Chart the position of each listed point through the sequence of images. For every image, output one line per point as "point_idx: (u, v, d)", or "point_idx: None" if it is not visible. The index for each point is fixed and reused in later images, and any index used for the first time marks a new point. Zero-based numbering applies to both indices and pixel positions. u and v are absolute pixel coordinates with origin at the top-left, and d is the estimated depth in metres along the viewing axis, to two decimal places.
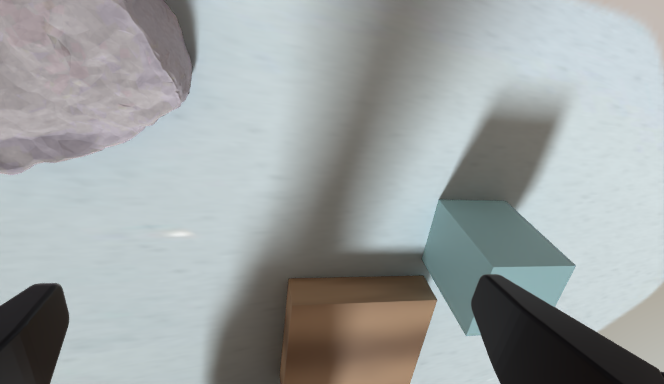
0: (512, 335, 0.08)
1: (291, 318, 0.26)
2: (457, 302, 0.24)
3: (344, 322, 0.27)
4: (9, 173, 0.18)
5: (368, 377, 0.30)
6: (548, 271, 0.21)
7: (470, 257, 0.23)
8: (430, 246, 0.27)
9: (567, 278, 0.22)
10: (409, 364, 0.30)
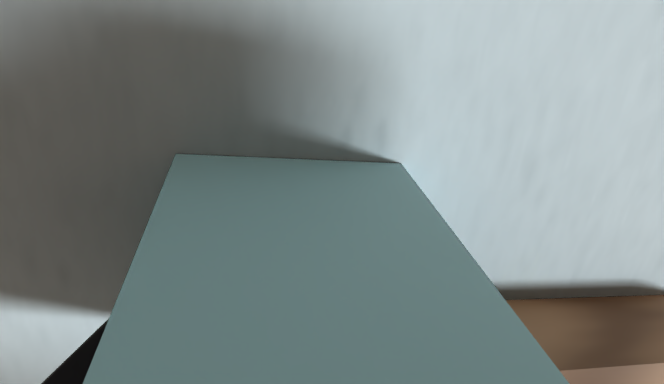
0: None
1: None
2: None
3: None
4: None
5: None
6: None
7: None
8: None
9: None
10: (659, 375, 0.11)
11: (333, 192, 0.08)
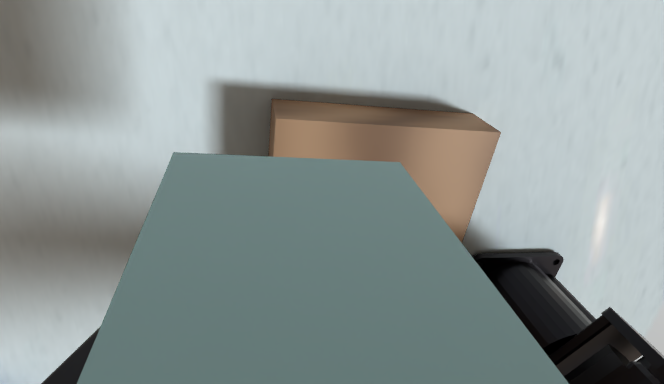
0: None
1: None
2: None
3: None
4: None
5: (431, 201, 0.19)
6: None
7: None
8: None
9: None
10: (426, 140, 0.17)
11: (331, 191, 0.08)
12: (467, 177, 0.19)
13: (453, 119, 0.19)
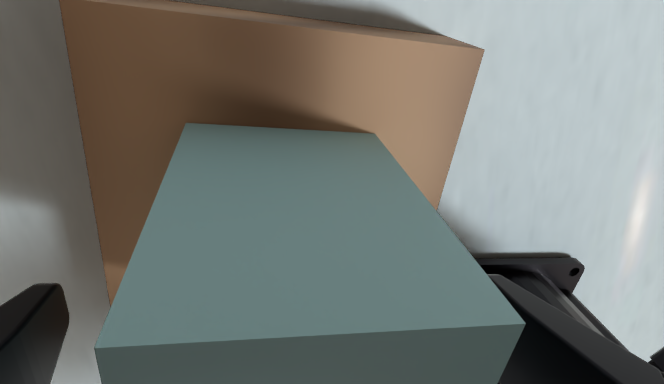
0: None
1: None
2: None
3: None
4: None
5: None
6: None
7: None
8: None
9: (194, 334, 0.04)
10: (353, 57, 0.10)
11: (316, 151, 0.09)
12: (430, 129, 0.11)
13: (408, 34, 0.11)
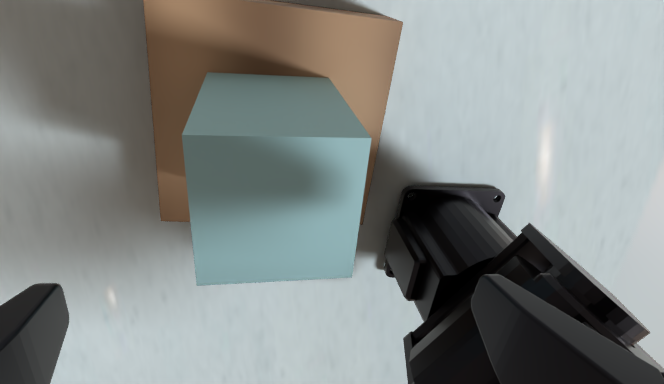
0: (512, 335, 0.08)
1: (186, 220, 0.19)
2: None
3: None
4: None
5: None
6: (200, 190, 0.11)
7: None
8: None
9: (220, 134, 0.10)
10: (318, 25, 0.16)
11: (287, 85, 0.15)
12: (371, 75, 0.17)
13: (357, 13, 0.17)
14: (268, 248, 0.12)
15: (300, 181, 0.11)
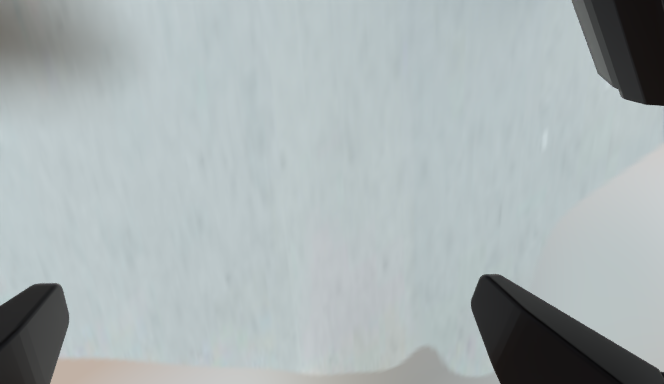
0: (512, 335, 0.08)
1: None
2: None
3: None
4: None
5: None
6: None
7: None
8: None
9: None
10: None
11: None
12: None
13: None
14: None
15: None
